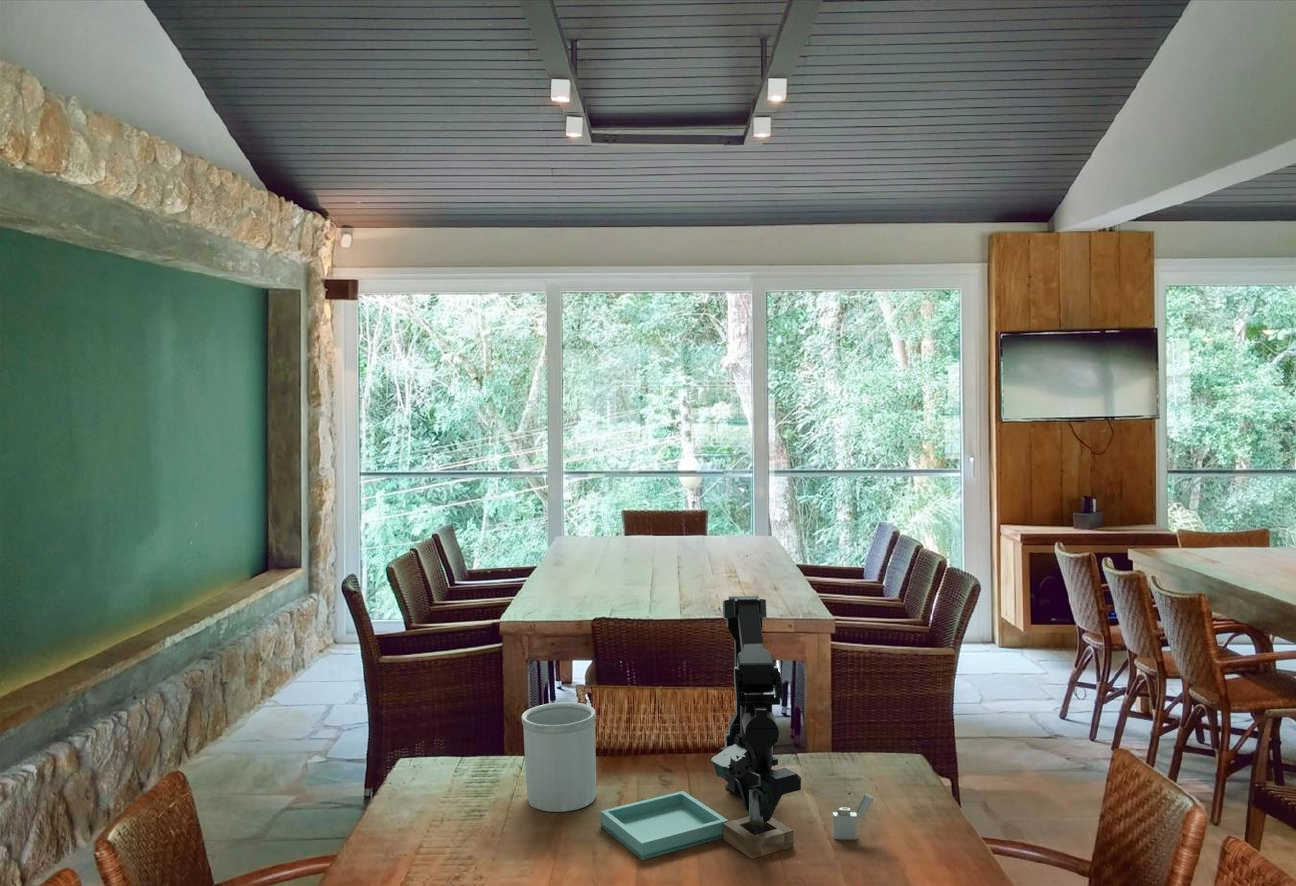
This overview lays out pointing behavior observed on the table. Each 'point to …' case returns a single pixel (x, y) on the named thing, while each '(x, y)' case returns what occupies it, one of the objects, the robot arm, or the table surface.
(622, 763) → the table surface
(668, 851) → the tray
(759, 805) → the pin
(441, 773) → the table surface
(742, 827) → the pin holder
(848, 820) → the lighter
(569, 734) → the utensil holder
